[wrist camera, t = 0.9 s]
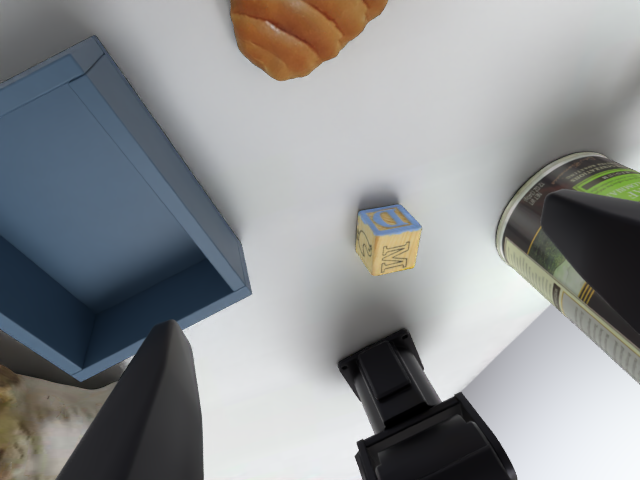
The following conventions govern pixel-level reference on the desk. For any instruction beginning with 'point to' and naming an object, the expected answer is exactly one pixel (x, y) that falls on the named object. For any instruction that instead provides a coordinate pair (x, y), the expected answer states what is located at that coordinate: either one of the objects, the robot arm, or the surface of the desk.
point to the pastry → (298, 31)
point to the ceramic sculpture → (42, 424)
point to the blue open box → (101, 218)
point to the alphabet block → (387, 239)
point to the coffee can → (552, 267)
